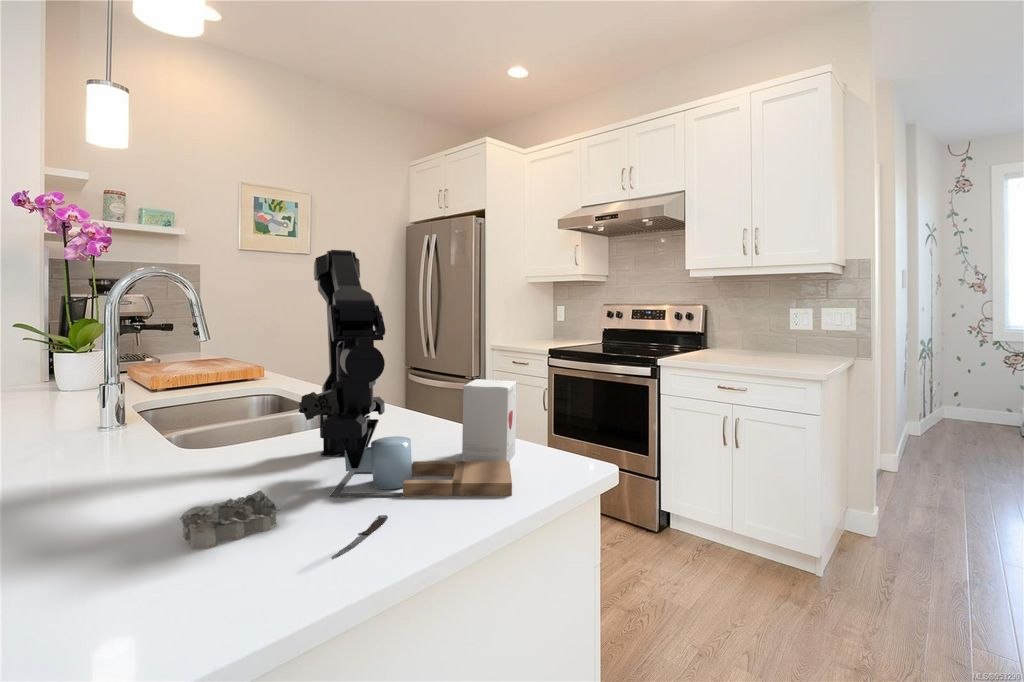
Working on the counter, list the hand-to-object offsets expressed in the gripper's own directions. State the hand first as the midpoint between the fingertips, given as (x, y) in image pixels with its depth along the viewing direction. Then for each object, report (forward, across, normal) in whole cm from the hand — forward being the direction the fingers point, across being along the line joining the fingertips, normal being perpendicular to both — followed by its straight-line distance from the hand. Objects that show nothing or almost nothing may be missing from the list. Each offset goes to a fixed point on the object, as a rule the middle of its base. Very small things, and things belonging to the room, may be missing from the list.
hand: (356, 466), depth 86 cm
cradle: (+3, 0, +17) cm, 18 cm away
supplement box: (+3, -14, +23) cm, 27 cm away
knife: (+3, +21, +4) cm, 22 cm away
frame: (+3, 0, +3) cm, 4 cm away
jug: (+3, 0, +4) cm, 5 cm away
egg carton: (+3, +17, -12) cm, 22 cm away
